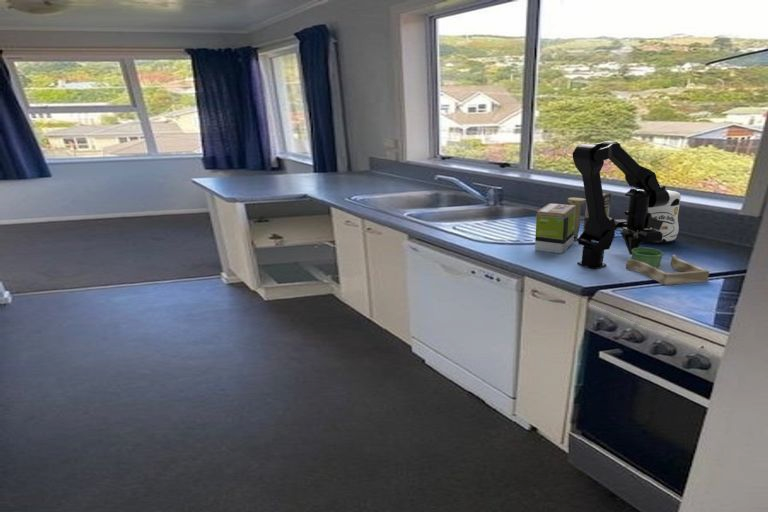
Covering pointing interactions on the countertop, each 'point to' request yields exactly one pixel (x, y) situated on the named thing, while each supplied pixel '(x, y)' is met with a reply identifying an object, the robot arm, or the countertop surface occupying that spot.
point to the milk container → (667, 217)
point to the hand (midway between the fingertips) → (632, 254)
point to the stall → (685, 276)
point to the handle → (577, 212)
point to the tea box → (555, 227)
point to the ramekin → (647, 256)
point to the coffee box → (606, 202)
